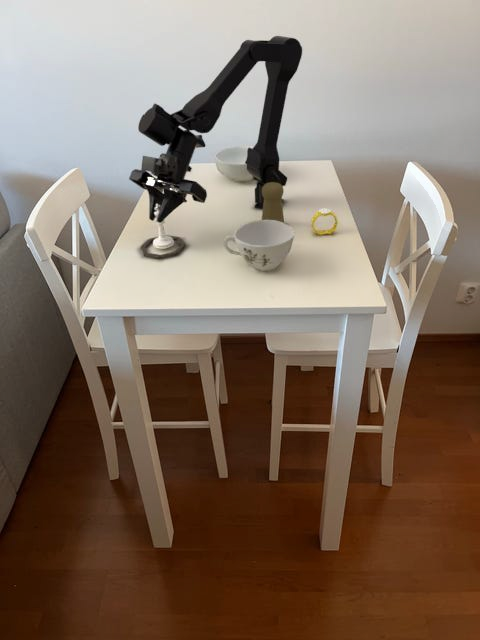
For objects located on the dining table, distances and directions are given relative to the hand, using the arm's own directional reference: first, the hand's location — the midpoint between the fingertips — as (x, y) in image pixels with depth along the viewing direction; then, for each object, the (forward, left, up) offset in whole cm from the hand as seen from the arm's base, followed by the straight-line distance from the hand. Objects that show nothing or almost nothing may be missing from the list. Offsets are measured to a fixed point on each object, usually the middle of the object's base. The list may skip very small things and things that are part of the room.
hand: (154, 220), depth 106 cm
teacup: (-25, -1, -8) cm, 26 cm away
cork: (-22, -19, -8) cm, 30 cm away
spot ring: (0, -1, -8) cm, 8 cm away
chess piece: (0, -2, -7) cm, 7 cm away
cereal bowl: (-2, -48, -8) cm, 49 cm away
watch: (-35, -19, -8) cm, 40 cm away
